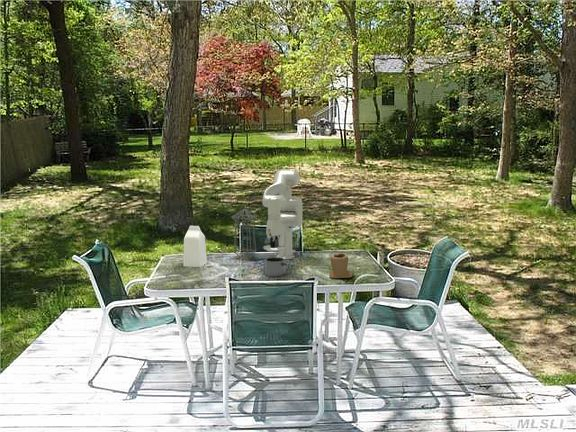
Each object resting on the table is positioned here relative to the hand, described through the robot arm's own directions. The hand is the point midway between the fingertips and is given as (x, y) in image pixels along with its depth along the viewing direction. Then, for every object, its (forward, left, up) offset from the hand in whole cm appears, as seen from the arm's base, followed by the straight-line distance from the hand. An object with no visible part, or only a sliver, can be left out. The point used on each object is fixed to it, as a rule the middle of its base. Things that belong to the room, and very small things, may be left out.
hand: (274, 246), depth 340 cm
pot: (0, 0, -17) cm, 17 cm away
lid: (0, 0, -2) cm, 2 cm away
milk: (+10, -58, -18) cm, 61 cm away
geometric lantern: (-23, -42, -18) cm, 51 cm away
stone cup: (-15, +39, -18) cm, 45 cm away
